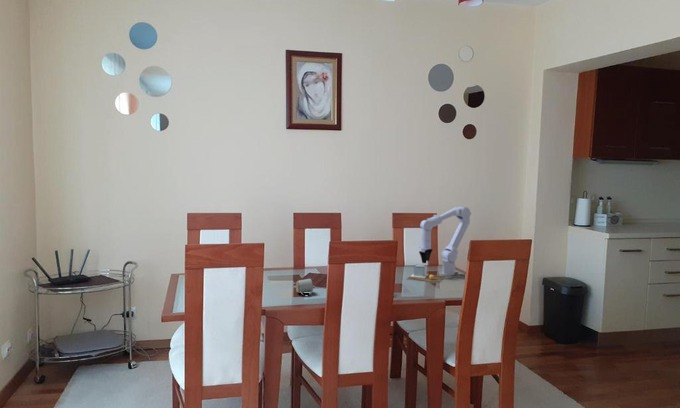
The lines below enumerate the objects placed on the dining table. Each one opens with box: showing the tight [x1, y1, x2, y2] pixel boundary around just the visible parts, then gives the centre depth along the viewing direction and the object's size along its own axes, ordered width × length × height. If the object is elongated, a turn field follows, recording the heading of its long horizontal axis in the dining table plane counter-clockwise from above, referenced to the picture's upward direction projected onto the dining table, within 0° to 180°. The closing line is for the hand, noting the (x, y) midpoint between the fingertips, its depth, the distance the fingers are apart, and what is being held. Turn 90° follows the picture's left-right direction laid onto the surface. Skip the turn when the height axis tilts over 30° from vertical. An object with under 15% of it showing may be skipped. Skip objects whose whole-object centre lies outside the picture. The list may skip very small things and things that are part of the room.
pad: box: [409, 273, 430, 278], centre depth 288 cm, size 9×9×1 cm
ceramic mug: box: [295, 278, 314, 295], centre depth 250 cm, size 11×8×8 cm
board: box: [405, 274, 447, 284], centre depth 283 cm, size 18×20×1 cm
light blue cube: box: [413, 264, 426, 277], centre depth 288 cm, size 6×6×6 cm
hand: (425, 261), depth 289 cm, fingers open, 7 cm apart
